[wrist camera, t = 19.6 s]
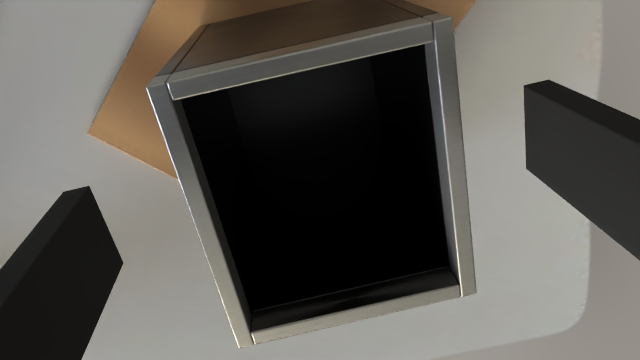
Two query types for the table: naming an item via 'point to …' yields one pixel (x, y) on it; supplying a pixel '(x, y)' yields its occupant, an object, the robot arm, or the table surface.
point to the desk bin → (322, 162)
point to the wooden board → (158, 48)
